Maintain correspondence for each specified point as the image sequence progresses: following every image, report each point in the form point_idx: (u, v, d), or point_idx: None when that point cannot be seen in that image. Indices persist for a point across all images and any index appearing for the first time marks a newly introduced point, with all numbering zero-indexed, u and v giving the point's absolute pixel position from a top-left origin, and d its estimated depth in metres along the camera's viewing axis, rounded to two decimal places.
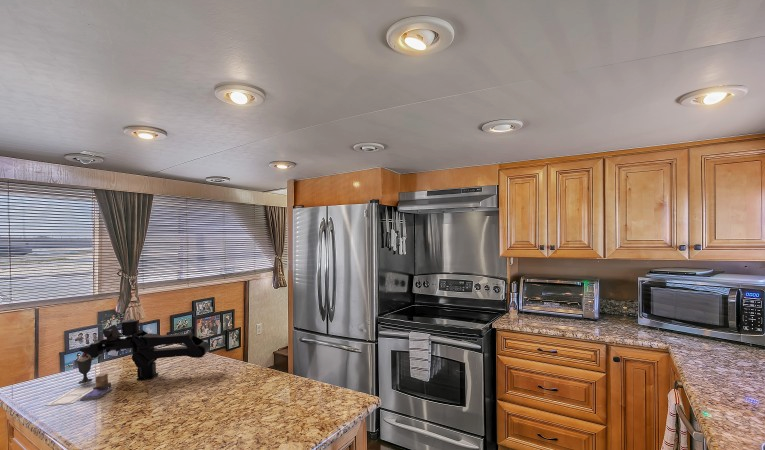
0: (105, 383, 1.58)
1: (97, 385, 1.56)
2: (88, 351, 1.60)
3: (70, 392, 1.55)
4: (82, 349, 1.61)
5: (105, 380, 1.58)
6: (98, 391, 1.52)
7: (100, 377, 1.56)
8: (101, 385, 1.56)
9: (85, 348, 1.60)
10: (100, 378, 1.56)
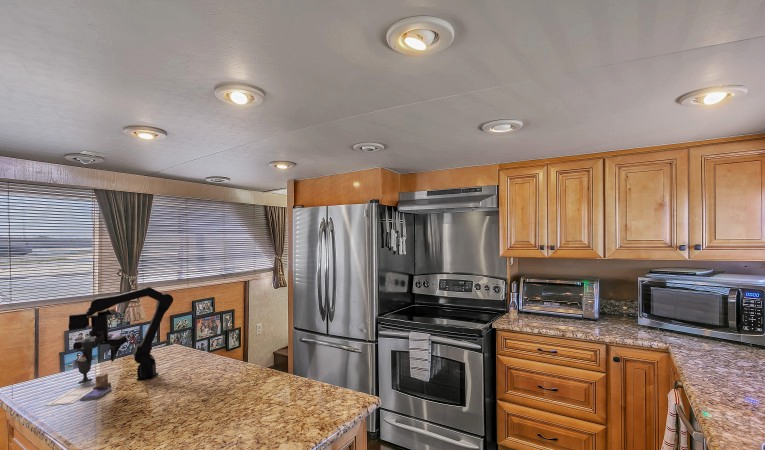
0: (105, 383, 1.58)
1: (97, 385, 1.56)
2: (116, 350, 1.59)
3: (70, 392, 1.55)
4: (113, 357, 1.58)
5: (105, 380, 1.58)
6: (98, 391, 1.52)
7: (100, 377, 1.56)
8: (101, 385, 1.56)
9: (114, 354, 1.58)
10: (100, 378, 1.56)
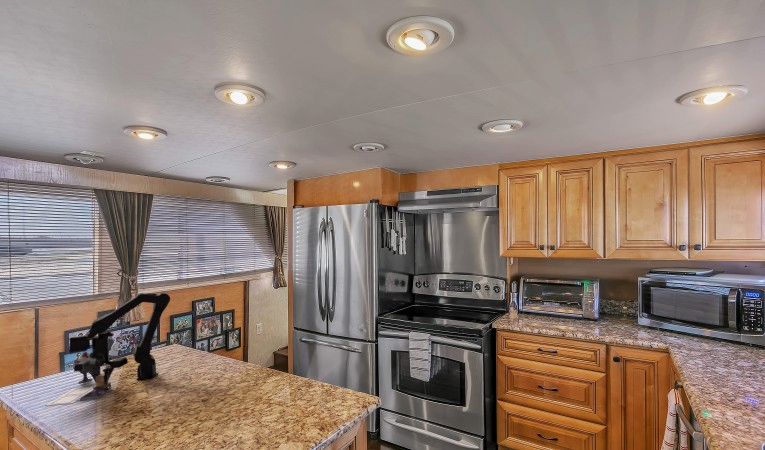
0: None
1: (97, 385, 1.56)
2: (110, 372, 1.59)
3: (70, 392, 1.55)
4: (107, 379, 1.58)
5: None
6: (98, 391, 1.52)
7: (100, 376, 1.56)
8: (101, 385, 1.56)
9: (107, 376, 1.58)
10: (100, 378, 1.56)
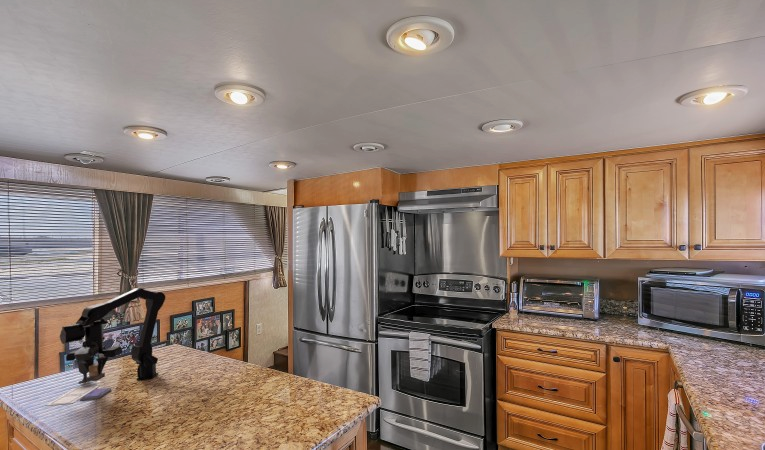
0: None
1: (90, 375, 1.50)
2: (104, 362, 1.52)
3: (70, 392, 1.55)
4: (101, 369, 1.51)
5: None
6: (98, 391, 1.52)
7: (93, 366, 1.50)
8: (94, 375, 1.50)
9: (101, 366, 1.51)
10: (93, 367, 1.50)
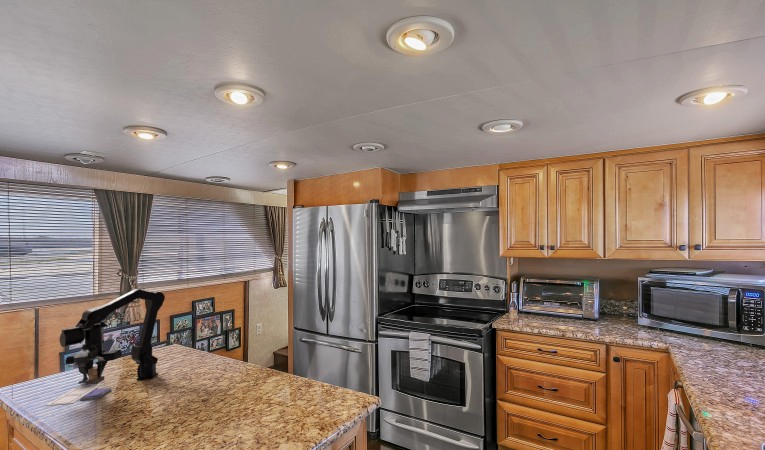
0: None
1: (90, 378, 1.49)
2: (103, 365, 1.52)
3: (70, 392, 1.55)
4: (100, 373, 1.51)
5: None
6: (98, 391, 1.52)
7: (93, 369, 1.50)
8: (94, 378, 1.49)
9: (100, 369, 1.51)
10: (92, 371, 1.49)
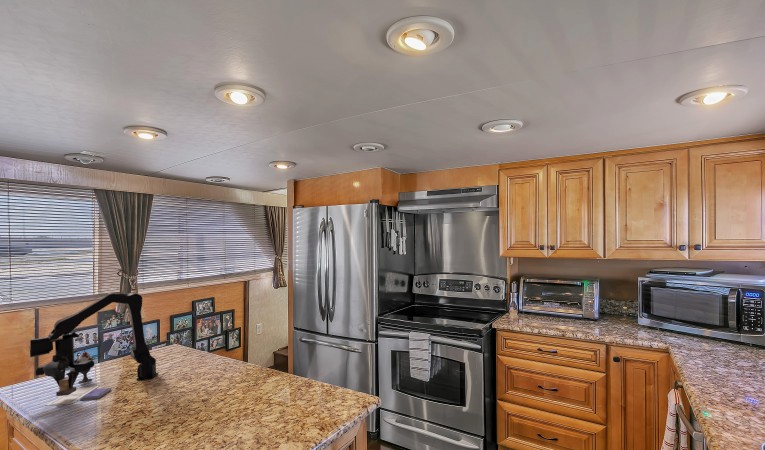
0: None
1: (61, 389, 1.46)
2: (75, 376, 1.49)
3: None
4: (72, 384, 1.48)
5: None
6: (98, 391, 1.52)
7: (63, 380, 1.47)
8: (65, 389, 1.47)
9: (72, 380, 1.48)
10: (63, 382, 1.47)
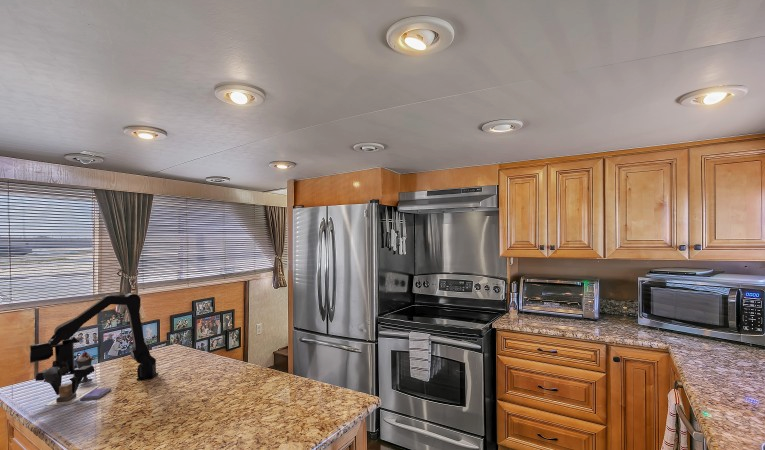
0: (70, 393, 1.48)
1: (61, 396, 1.46)
2: (78, 381, 1.49)
3: None
4: (75, 389, 1.48)
5: (70, 390, 1.48)
6: (98, 391, 1.52)
7: (64, 387, 1.46)
8: (65, 396, 1.46)
9: (75, 385, 1.48)
10: (63, 388, 1.46)
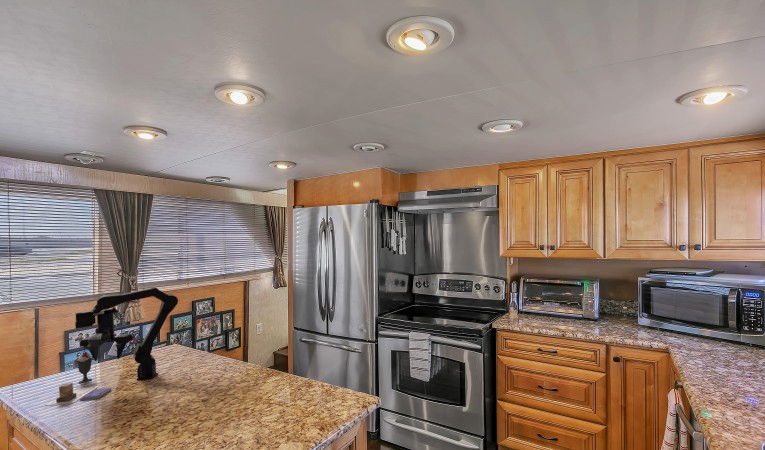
0: (70, 393, 1.48)
1: (61, 396, 1.46)
2: (122, 347, 1.61)
3: None
4: (119, 355, 1.60)
5: (70, 390, 1.48)
6: (98, 391, 1.52)
7: (64, 387, 1.46)
8: (65, 396, 1.46)
9: (120, 351, 1.59)
10: (63, 388, 1.46)
